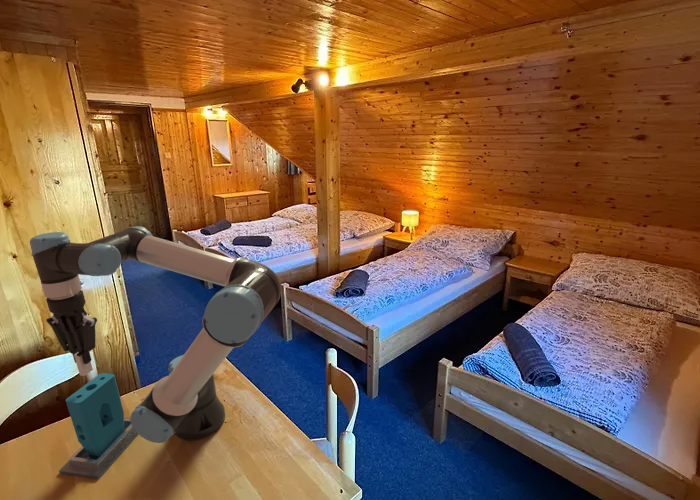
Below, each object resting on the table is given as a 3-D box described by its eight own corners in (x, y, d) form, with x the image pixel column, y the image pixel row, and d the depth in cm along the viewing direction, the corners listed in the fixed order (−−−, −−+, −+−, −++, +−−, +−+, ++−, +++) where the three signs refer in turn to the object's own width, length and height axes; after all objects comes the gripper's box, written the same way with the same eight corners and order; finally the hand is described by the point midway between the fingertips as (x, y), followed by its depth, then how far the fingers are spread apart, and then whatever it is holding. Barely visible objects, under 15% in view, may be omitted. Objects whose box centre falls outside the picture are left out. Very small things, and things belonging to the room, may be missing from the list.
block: (97, 462, 103) (79, 403, 96) (82, 459, 104) (63, 400, 97) (129, 429, 114) (116, 374, 107) (115, 426, 115) (101, 372, 108)
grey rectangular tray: (148, 422, 117) (146, 415, 117) (98, 479, 99) (96, 470, 98) (114, 418, 119) (112, 411, 118) (59, 473, 101) (56, 465, 100)
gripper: (99, 288, 96) (118, 366, 103) (55, 286, 98) (77, 362, 105) (74, 301, 89) (96, 383, 96) (27, 298, 91) (53, 379, 98)
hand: (86, 372), depth 101 cm, fingers closed
